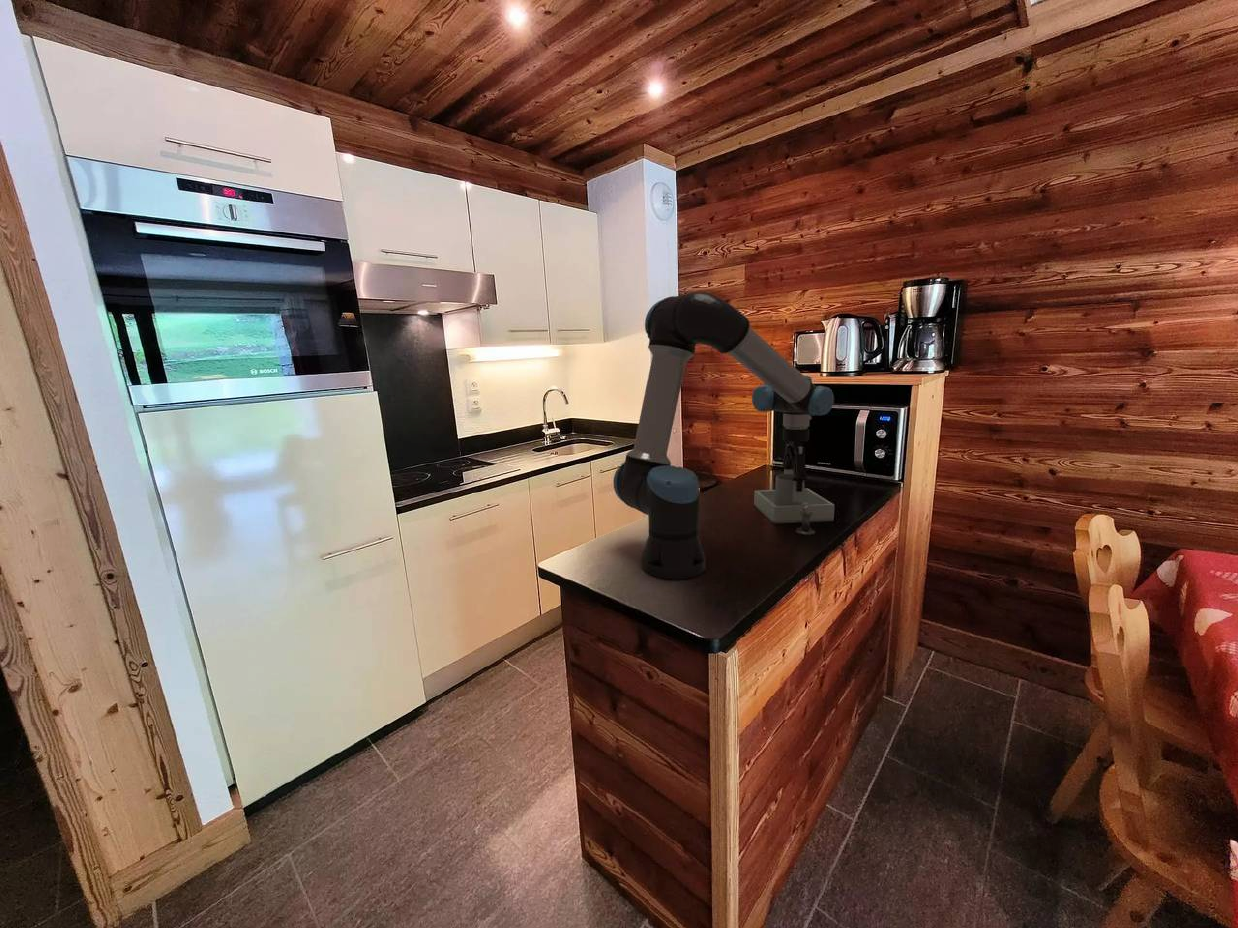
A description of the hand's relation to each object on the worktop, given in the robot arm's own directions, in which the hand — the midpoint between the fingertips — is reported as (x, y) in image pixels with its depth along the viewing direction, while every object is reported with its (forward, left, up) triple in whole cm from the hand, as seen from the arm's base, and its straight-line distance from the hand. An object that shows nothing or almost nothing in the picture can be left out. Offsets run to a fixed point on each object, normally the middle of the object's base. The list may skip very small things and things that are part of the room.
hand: (792, 495), depth 149 cm
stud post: (-3, -17, -6) cm, 18 cm away
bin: (0, 0, -6) cm, 6 cm away
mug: (0, +1, -5) cm, 5 cm away
